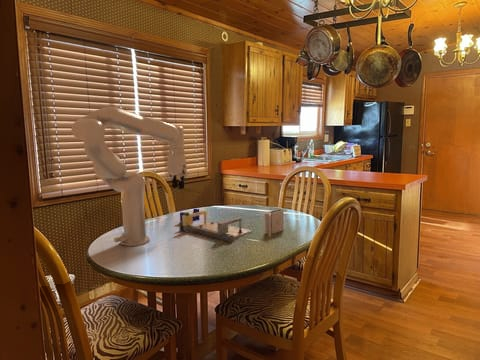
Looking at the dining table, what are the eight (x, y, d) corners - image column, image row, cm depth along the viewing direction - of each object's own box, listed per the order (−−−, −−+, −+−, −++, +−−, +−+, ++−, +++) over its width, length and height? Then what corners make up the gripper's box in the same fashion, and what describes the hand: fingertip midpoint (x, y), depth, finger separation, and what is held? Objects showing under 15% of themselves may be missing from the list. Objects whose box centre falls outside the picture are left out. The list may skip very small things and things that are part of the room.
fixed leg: (221, 239, 161) (221, 223, 160) (217, 238, 162) (217, 223, 161) (243, 231, 172) (242, 217, 171) (239, 231, 173) (239, 216, 172)
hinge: (270, 236, 168) (269, 215, 166) (260, 235, 171) (259, 214, 170) (284, 229, 179) (284, 209, 177) (275, 228, 182) (275, 208, 181)
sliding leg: (186, 230, 176) (185, 213, 175) (182, 229, 178) (182, 213, 177) (207, 224, 188) (207, 208, 186) (204, 223, 189) (204, 207, 188)
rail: (228, 243, 159) (228, 233, 158) (179, 230, 180) (179, 222, 180) (234, 241, 162) (234, 231, 161) (185, 229, 183) (185, 220, 183)
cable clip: (193, 218, 206) (193, 208, 205) (199, 219, 203) (199, 209, 202) (178, 223, 196) (177, 212, 195) (184, 224, 193) (183, 213, 193)
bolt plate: (235, 237, 167) (235, 234, 166) (194, 228, 185) (194, 225, 185) (251, 232, 176) (251, 229, 175) (211, 223, 194) (210, 220, 194)
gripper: (160, 151, 180) (161, 187, 183) (181, 152, 169) (183, 190, 172) (171, 150, 186) (173, 185, 188) (193, 151, 175) (195, 188, 177)
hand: (178, 187), depth 180 cm, fingers open, 4 cm apart
